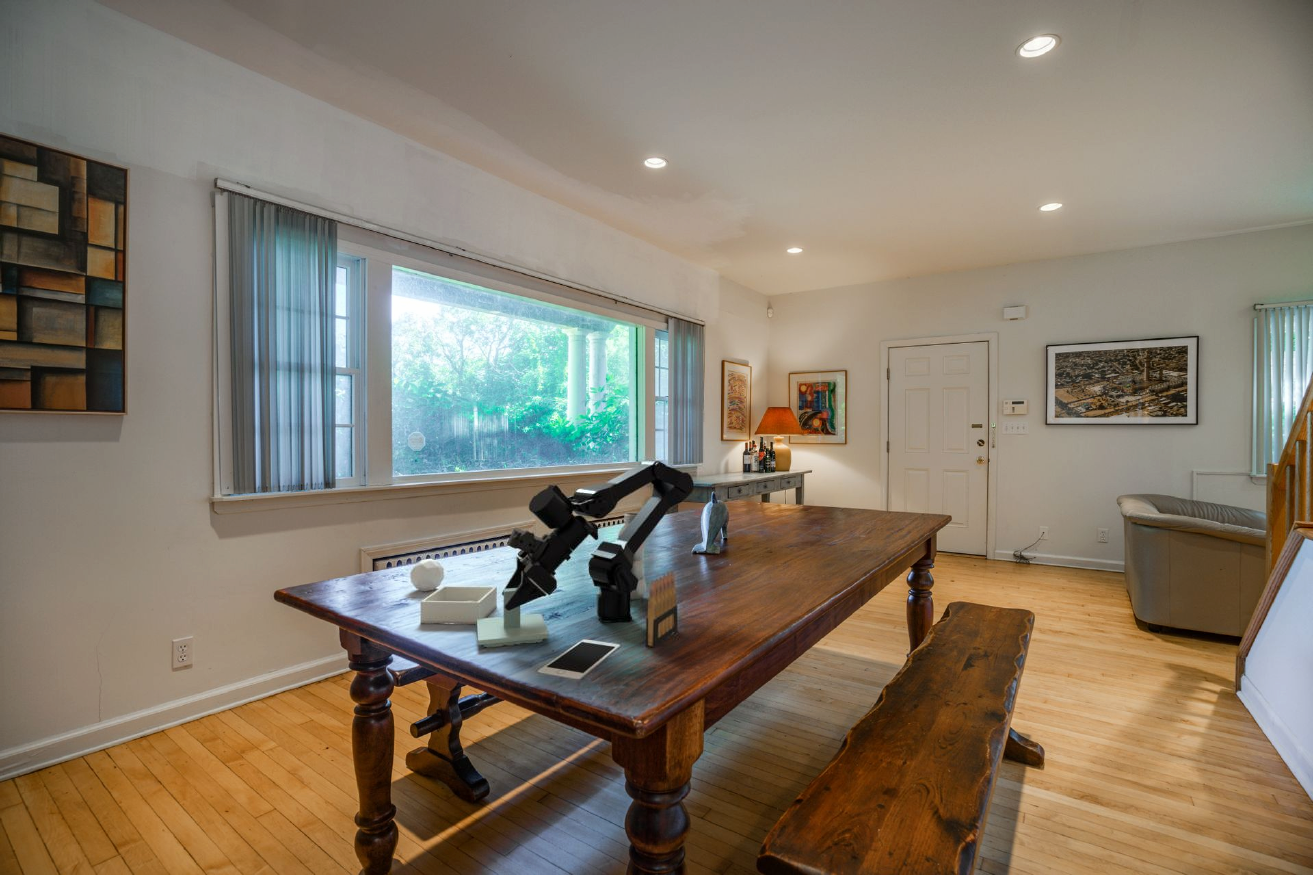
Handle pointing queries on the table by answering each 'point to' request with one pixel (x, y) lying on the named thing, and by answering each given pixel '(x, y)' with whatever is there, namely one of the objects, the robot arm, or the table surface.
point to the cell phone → (579, 659)
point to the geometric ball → (427, 575)
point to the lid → (511, 627)
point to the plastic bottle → (636, 562)
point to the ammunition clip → (661, 610)
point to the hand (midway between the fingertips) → (504, 602)
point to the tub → (458, 604)
